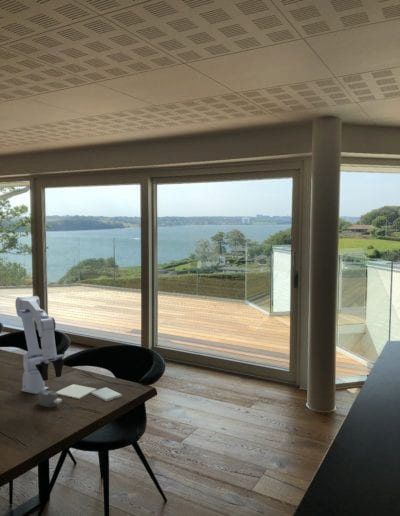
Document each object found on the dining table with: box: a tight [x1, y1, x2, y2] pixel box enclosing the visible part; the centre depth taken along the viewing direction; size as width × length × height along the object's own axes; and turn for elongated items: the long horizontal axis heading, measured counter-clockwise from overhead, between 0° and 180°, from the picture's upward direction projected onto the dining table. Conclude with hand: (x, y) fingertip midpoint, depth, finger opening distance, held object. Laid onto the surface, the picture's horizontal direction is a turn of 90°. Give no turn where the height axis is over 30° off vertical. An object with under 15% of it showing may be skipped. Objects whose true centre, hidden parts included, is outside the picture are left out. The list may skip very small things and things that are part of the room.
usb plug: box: [37, 389, 63, 408], centre depth 180 cm, size 11×4×5 cm, turn 65°
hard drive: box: [90, 386, 123, 402], centre depth 192 cm, size 2×8×12 cm
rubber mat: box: [56, 383, 98, 400], centre depth 195 cm, size 14×12×1 cm
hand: (52, 378), depth 181 cm, fingers open, 7 cm apart
